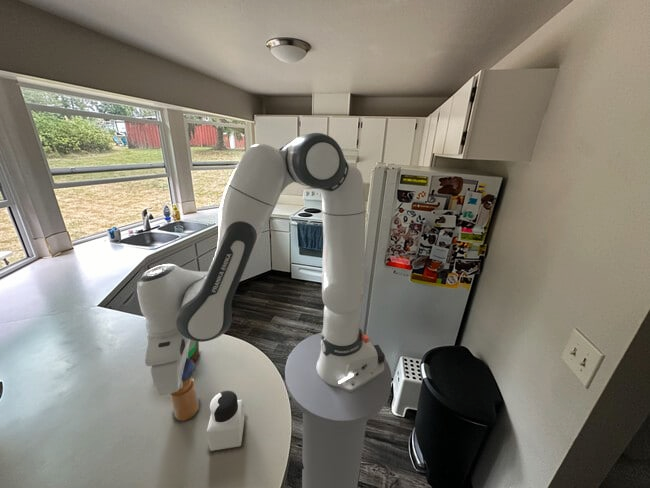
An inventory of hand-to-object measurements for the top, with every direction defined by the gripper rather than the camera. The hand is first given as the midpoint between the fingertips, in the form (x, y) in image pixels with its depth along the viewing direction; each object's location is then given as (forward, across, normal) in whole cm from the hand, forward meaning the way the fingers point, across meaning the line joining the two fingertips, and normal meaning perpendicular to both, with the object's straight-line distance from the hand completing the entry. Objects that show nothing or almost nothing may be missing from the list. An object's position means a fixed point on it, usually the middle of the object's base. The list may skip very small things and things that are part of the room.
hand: (182, 374), depth 64 cm
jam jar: (+13, 0, -1) cm, 13 cm away
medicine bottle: (+14, +9, +10) cm, 19 cm away
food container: (+13, -18, -5) cm, 23 cm away
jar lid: (-2, 0, 0) cm, 2 cm away
